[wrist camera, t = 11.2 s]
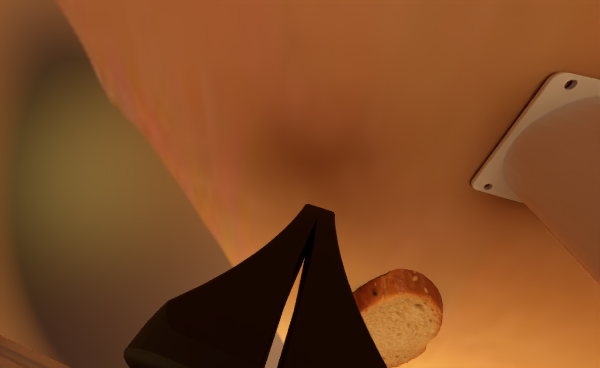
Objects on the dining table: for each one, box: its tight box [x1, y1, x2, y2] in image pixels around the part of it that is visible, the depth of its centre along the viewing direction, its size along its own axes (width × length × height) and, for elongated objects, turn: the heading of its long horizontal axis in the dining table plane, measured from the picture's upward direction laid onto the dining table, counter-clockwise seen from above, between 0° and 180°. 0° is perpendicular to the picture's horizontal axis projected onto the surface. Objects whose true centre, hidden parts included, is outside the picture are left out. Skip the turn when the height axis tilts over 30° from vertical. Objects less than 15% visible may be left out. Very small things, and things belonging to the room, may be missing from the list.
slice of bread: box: [353, 269, 443, 368], centre depth 28 cm, size 18×18×4 cm
